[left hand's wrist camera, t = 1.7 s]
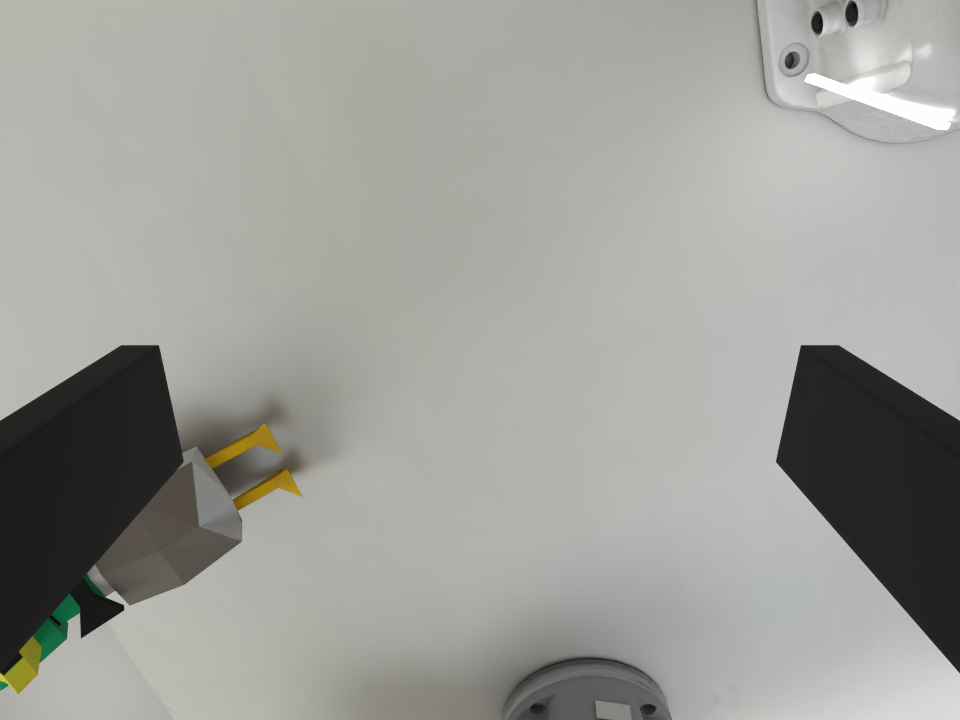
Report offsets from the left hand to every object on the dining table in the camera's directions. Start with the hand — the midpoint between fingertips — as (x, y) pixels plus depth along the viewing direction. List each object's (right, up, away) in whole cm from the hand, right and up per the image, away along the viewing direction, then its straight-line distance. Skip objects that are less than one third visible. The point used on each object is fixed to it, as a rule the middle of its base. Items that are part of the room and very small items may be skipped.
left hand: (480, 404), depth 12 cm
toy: (-21, -8, +32) cm, 39 cm away
